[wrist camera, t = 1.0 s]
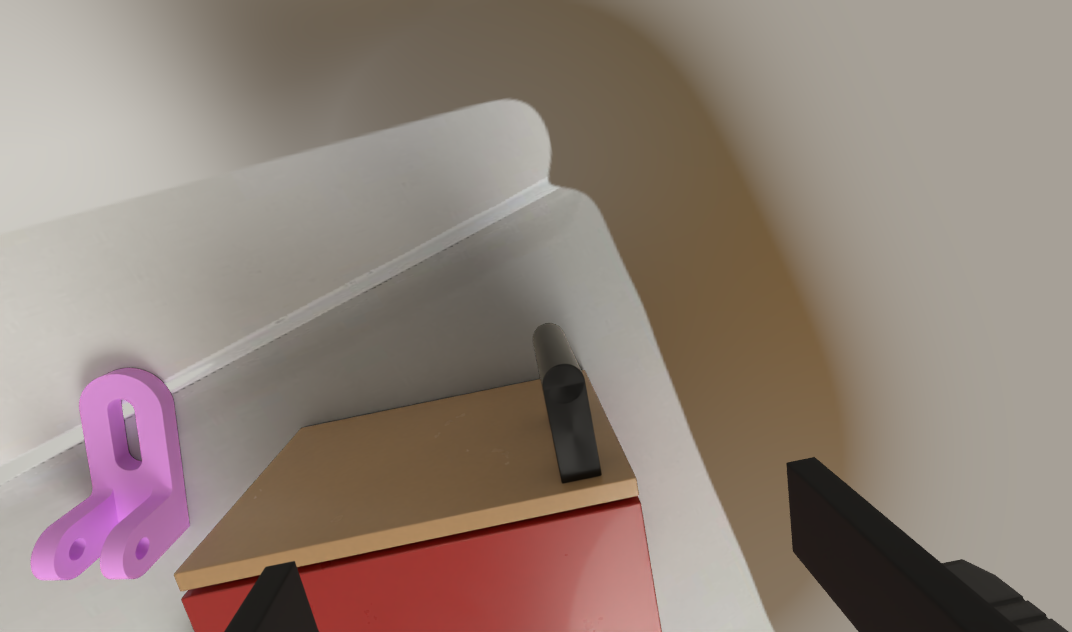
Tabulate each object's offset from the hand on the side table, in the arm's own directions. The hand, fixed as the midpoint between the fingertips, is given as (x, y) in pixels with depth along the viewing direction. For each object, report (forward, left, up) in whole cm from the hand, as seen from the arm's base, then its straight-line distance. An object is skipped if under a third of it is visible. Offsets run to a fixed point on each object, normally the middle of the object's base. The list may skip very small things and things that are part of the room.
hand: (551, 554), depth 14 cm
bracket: (+4, -30, -26) cm, 40 cm away
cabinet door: (+2, -7, -26) cm, 26 cm away
